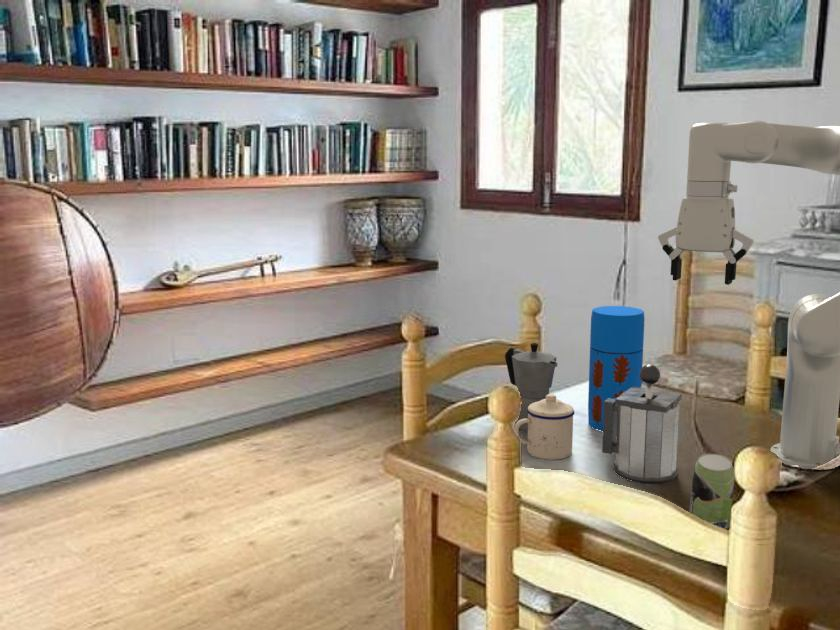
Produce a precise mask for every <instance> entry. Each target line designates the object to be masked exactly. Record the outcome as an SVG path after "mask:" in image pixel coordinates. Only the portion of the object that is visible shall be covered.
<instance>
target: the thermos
mask: <svg viewBox="0 0 840 630" xmlns="http://www.w3.org/2000/svg"><path fill="white" fill-rule="evenodd" d="M644 336H645V311H644V310H642V309H641V308H637V307H633V306H626V305H625V306H623V305H605V306H604V305H603V306H597V307H594V308H592V309H591V316H590V336H589V337H590V339H589V340H590V341H589V346H590V347H589V366H588V368H589V370H588V372H589V373H588V397H587V398H588V399H587V400H588V401H587V413H588V414H587V416H588V417H587V418H588V426H589V425H590V426H591V427H590V426H589V427H590V428H592V427H593V428H594V429H593V428H592V429H593V430H595V429H598V430H601V431H603V416H604V401H605V400H607V399H608V398H611V399H616V398H617V397H619V396H620V395H621V394H622V393H624V392H625V391H627V390H628V389H630V388H631V387H632V386H633V387H640V388H642V383H643V382H642V380H641V379H640V370H641V368H642V367H643V361H644V359H643V358H644ZM617 415H618V412H617ZM598 430H597V431H598ZM601 431H600V432H601Z"/></svg>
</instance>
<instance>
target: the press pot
mask: <svg viewBox="0 0 840 630" xmlns="http://www.w3.org/2000/svg"><path fill="white" fill-rule="evenodd" d="M645 393H646V387H641V388H640V387H633V386H632V387H631V388H630V389H628V390H627V391H625V392H624V393H622V394H621V395H620V396H619V397H617V398H616V399H611V398H608V399H607V400H605V401H604V416H603V432H602V445H601V447H602V448H601V453H602V454H607V455H613V454H615V462H614V465H613V471H615V472H614V473H615V474H616V473H617V474H618V475H619V476H618V477H620V476H621V477H620V478H622V477H623V478H622V479H624V478H625V479H624V480H627V479H628V480H627V481H630V480H632V481H631V482H633V481H635V482H634V483H638V482H640V484H649V485H651V484H652V485H653V484H654V485H656V484H665V483H669V482H672V481H674V480H675V479H676V478H677V476H678V468H677V456H678V455H677V454H678V452H677V451H678V437H679V436H678V434H679V421H680V420H679V417H680V403H679V402H680V401H682V393H680V392H679V393H678V392H671V391H666V390H660V389H653V391H652V399H648V398H645ZM617 412H618V415H617ZM617 474H616V475H617Z"/></svg>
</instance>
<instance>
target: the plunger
mask: <svg viewBox="0 0 840 630" xmlns="http://www.w3.org/2000/svg"><path fill="white" fill-rule="evenodd" d="M660 378H661V371H660V369H659V368H658V366H656V365H654V364H646V365H643V366H642V368H641V370H640V379H641V380H642V383H644V384H645V388H646V393H645V398H648V399H652V391H653V390H654V388H653V387H654V385H655V384H656V383H658V381H659V380H660Z"/></svg>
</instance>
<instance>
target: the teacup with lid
mask: <svg viewBox="0 0 840 630" xmlns="http://www.w3.org/2000/svg"><path fill="white" fill-rule="evenodd" d="M527 412H528V418H526V419H521V420H519V421H518V422H517V423H516V424H515V426H513V431H514V430H515V431H516V433H517V434H518V435H519V437H520V439H521V442H520V443H521V444H524V445H525V444H526V445H527V451H528V454H529V455H530V456H532V457H534V458H536V459H541V460H550V461H551V460H553V461H554V460H562V459H565V458H568V457H570V456H571V455H572V454H573V437H574V436H573V431H574V425H573V424H574V415H575V410H574V408H573V406H572V405H571V404H569V403H566V402H564V401H562V400H560V399H557V395H555V394H553V393H549V394H548V395H546V399H543V400H541V401H538V402H534V403H532V404H530V405H529V406H528V409H527ZM524 423H528V431H527V438H526V439H525V438H522V437H521V436H520V434H519V430H520V429H519V427H520V426H521V425H522V424H524Z"/></svg>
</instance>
